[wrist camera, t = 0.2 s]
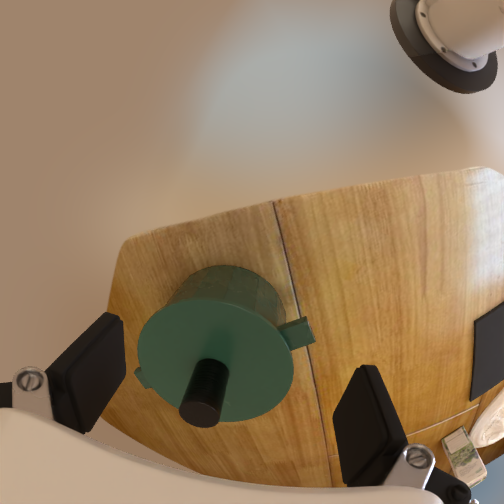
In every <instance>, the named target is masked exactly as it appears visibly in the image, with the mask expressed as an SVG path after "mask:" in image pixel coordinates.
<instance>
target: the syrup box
mask: <svg viewBox="0 0 504 504" xmlns="http://www.w3.org/2000/svg"><path fill="white" fill-rule="evenodd" d="M441 441H442V445H443V449H444V451H445V453H446V455H447V457H448V460H449V462H450V464H451V467H452V469H453V472H454V474H455V477H456V478H457V479H459V480H461V481H463V482H464V483H466V484H467V485H468V487H469V488H472V487H473V486H475V485H476V484H478V483H479V482H481V481H483V480H484V479H485V478H486V475H487V470H486V468H485V466H484V464H483V462H482V460H481V458H480V456H479V454H478V452H477V450H476V449H475V447H474V445H473V443H472V441H471V439H470V437H469V436H468V434H467V432H466V430H465V428H464V427H463V426H462V427H460V428H459V429H457V430H456V431H454V432H452V433H451V434H449V435H448V436H446V437H444V438H443V439H441Z"/></svg>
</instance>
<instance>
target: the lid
mask: <svg viewBox="0 0 504 504" xmlns="http://www.w3.org/2000/svg"><path fill="white" fill-rule="evenodd" d="M137 350H138V359H139V364H140V367H141V370H142V372H143V374H144V376H145V378H146V380H147V381H148V383H149V384H150V385H151V387H152V388H153V389H154V390H155V391H156V392H157V393H158V394H159V395H160V396H161V397H162V398H163V399H164V400H165V401H167V402H168V403H169V404H171V405H172V406H174V407H176V408H177V409H179V414H180V416H181V417H182V419H183V420H185V421H186V422H187V423H189V424H191V425H193V426H196V427H201V428H209V427H213V426H215V425H216V424H218V422H235V421H243V420H248V419H252V418H255V417H258V416H260V415H262V414H264V413H266V412H268V411H270V410H271V409H273V408H274V407H275V406H277V405H278V404H279V403H280V402H281V401H282V400H283V398H284V397H285V396H286V394H287V392H288V391H289V389H290V386H291V384H292V380H293V374H294V367H293V358H292V353H291V351H290V348H289V346H288V344H287V342H286V340H285V338H284V337H283V336H282V334H281V333H280V332H279V330H278V329H277V328H276V327H275V326H274V325H273V324H272V323H271V322H270V321H268V320H267V319H266V318H264V317H263V316H262V315H260V314H259V313H257V312H255V311H253V310H252V309H250V308H248V307H245V306H243V305H241V304H238V303H235V302H232V301H229V300H223V299H218V298H209V297H196V298H188V299H182V300H179V301H176V302H173V303H170V304H168V305H166V306H164V307H163V308H161V309H160V310H158V311H157V312H156V313H155V314H154V315H153V316H151V317H150V319H149V320H148V321H147V323H146V324H145V325H144V327H143V329H142V331H141V333H140V336H139V340H138V348H137Z"/></svg>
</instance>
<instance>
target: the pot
mask: <svg viewBox="0 0 504 504" xmlns="http://www.w3.org/2000/svg"><path fill="white" fill-rule="evenodd" d="M196 297H209V298H218V299H223V300H229V301H232V302H235V303H238V304H241V305H243V306H245V307H248V308H250V309H252V310H253V311H255V312H257V313H259V314H260V315H262V316H263V317H264V318H266V319H267V320H268V321H270V322H271V323H272V324H273V325H274V326H275V327H276V328H277V329H278V330H279V332H280V333H281V334H282V336H283V337H284V338H285V340H286V342H287V344H288V346H289V348H290V351H292V350H295V349H297V348H300V347H303V346H306V345H309V344H312V343H314V342H316V340H315V336H314V333H313V331H312V328H311V326H310V324H309V321H308V319H307V317H306V316H305V317H302V318H299V319H297V320H294V321H291V322H288V323H286V313H285V309H284V307H283V304H282V301H281V299H280V297H279V295H278V293H277V292H276V291H275V289H274V288H273V287H272V286H271V285H270V284H269V283H268V282H267V281H266V280H265V279H264V278H262V277H261V276H259V275H258V274H256V273H254V272H252V271H250V270H247V269H244V268H241V267H236V266H228V265H220V266H212V267H208V268H205V269H202V270H200V271H198V272H196V273H194V274H192V275H191V276H189V277H188V279H187V280H186V281H185V282H184V283H183V284H182V285H181V286H180V287H179V288H178V289H177V291H176V292H175V293H174V295H173V296H172V297H171V299H170V300H169V301H168V302H167V304H166V305H168V304H170V303H173V302H176V301H179V300H182V299H188V298H196ZM166 305H165V306H166ZM134 374H135V376H136V377H137V378H138V380H139V381H140V382H141V384H142V385H143V386H144V388H145V389H147V388H152V387H151V385H150V384H149V383H148V381H147V380H146V378H145V376H144V374H143V372H142V370H141V367H138V368H136V370H135V372H134Z"/></svg>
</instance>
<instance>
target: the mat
mask: <svg viewBox="0 0 504 504" xmlns="http://www.w3.org/2000/svg"><path fill="white" fill-rule="evenodd" d="M502 380H504V302H503V303H501V304H500V305H498V306H497V307H495V308H494V309H492V310H491V311H489V312H488V313H486V314H485V315H483V316H482V317H480V318H478V319H477V320H475V321H474V355H473V370H472V382H471V391H470V399H469V400H470V402H471V401H473V400H474V399H476V398H477V397H479V396H481V395H482V394H484V393H485V392H487V391H488V390H490V389H491V388H492V387H494V386H495V385H497V384H498V383H500V382H501V381H502Z"/></svg>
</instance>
